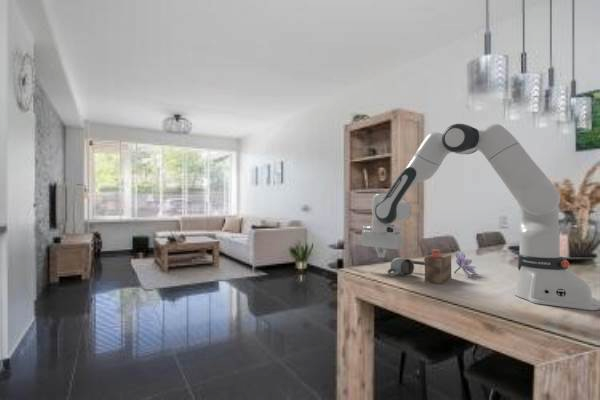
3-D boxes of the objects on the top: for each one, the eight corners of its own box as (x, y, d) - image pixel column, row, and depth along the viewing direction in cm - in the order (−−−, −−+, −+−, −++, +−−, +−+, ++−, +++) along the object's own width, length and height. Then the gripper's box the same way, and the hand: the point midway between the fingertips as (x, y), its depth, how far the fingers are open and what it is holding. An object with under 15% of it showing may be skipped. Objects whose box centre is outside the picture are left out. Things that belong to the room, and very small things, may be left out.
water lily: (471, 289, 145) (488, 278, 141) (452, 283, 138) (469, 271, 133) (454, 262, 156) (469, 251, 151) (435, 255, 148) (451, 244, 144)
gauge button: (441, 264, 132) (441, 249, 132) (438, 265, 130) (438, 250, 130) (433, 263, 134) (432, 248, 134) (429, 264, 132) (429, 249, 132)
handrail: (439, 275, 143) (439, 263, 143) (438, 276, 142) (438, 264, 142) (398, 269, 155) (398, 258, 155) (397, 270, 154) (397, 259, 154)
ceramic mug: (402, 271, 151) (402, 255, 151) (414, 275, 143) (414, 258, 143) (383, 274, 147) (383, 257, 147) (395, 278, 139) (394, 260, 139)
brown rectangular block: (451, 278, 137) (451, 254, 137) (440, 284, 127) (439, 259, 127) (435, 276, 142) (435, 253, 142) (423, 282, 131) (423, 257, 131)
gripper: (358, 226, 156) (358, 255, 156) (398, 229, 142) (398, 260, 142) (365, 225, 161) (365, 253, 161) (404, 228, 147) (404, 258, 147)
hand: (381, 257), depth 151 cm, fingers closed
